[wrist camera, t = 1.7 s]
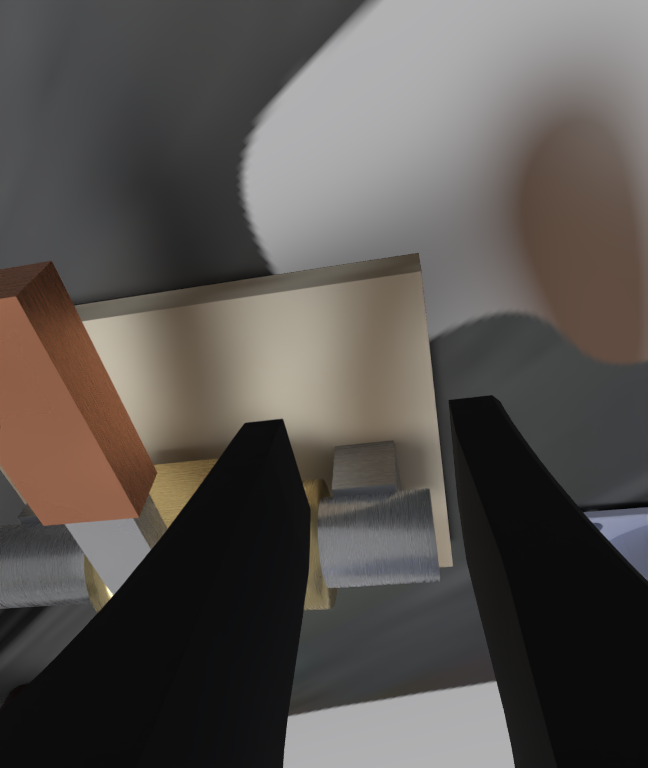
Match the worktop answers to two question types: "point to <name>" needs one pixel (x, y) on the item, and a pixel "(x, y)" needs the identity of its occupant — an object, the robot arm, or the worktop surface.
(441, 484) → the mounting board
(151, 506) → the valve lever
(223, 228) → the worktop surface
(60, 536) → the valve pipe
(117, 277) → the worktop surface
